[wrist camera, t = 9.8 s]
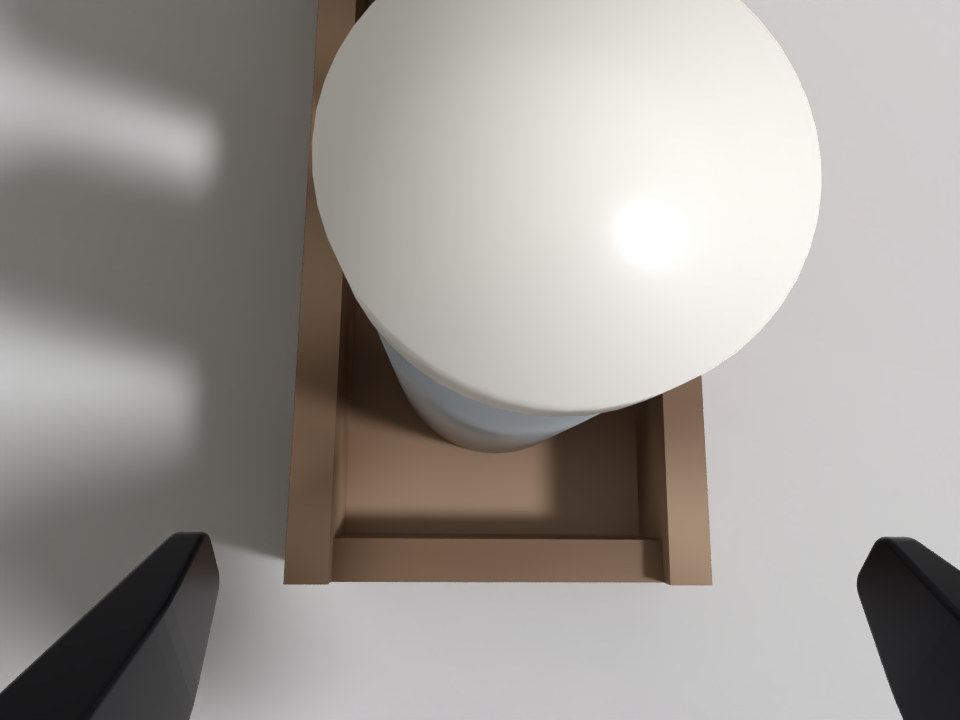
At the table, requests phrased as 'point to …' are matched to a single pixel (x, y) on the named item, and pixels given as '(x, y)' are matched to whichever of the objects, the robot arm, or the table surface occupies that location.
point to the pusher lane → (470, 459)
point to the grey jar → (562, 200)
